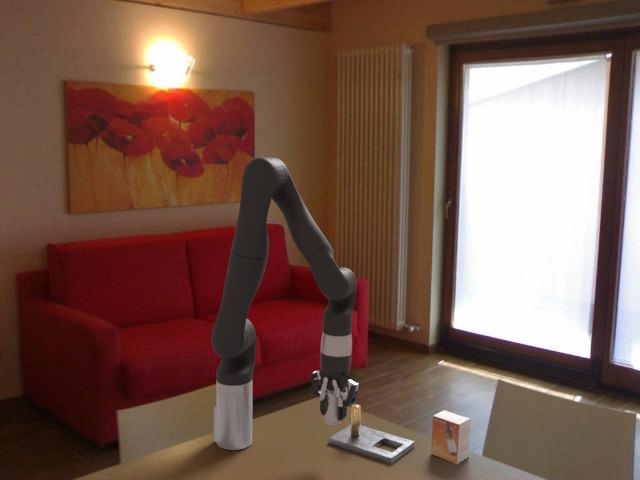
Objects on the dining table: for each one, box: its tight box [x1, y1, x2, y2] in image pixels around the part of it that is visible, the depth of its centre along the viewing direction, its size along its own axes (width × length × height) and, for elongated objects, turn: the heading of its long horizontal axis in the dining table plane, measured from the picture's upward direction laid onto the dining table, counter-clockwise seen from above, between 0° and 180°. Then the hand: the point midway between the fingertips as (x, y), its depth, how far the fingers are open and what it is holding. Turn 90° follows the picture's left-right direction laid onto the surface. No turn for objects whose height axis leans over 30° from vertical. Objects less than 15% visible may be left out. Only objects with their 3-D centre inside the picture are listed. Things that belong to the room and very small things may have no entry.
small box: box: [430, 409, 472, 465], centre depth 174 cm, size 8×6×10 cm
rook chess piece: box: [323, 390, 342, 426], centre depth 169 cm, size 4×4×8 cm
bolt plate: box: [328, 403, 416, 465], centre depth 179 cm, size 19×12×10 cm, turn 54°
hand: (333, 416), depth 170 cm, fingers closed on rook chess piece, 4 cm apart
